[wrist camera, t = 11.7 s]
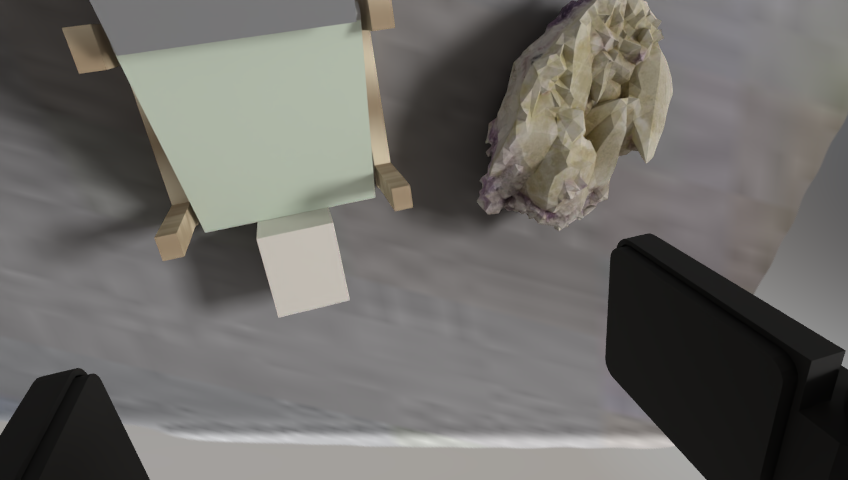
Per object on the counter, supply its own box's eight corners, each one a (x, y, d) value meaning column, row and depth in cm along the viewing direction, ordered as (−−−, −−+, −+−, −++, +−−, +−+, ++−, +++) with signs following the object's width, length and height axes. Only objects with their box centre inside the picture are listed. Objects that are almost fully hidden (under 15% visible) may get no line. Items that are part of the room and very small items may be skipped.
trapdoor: (51, -128, 22) (34, -79, 19) (334, -150, 24) (357, -109, 21) (203, 196, 38) (206, 250, 35) (364, 165, 40) (380, 212, 37)
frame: (114, 26, 32) (61, 28, 24) (361, -6, 35) (389, -15, 26) (182, 223, 37) (157, 279, 29) (391, 181, 40) (421, 221, 32)
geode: (607, 34, 46) (457, 6, 39) (707, -12, 37) (539, -58, 30) (611, 228, 46) (464, 234, 39) (712, 227, 37) (546, 233, 31)
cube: (256, 239, 34) (278, 317, 36) (333, 222, 35) (349, 300, 37) (258, 213, 38) (277, 285, 41) (326, 200, 39) (341, 270, 42)
